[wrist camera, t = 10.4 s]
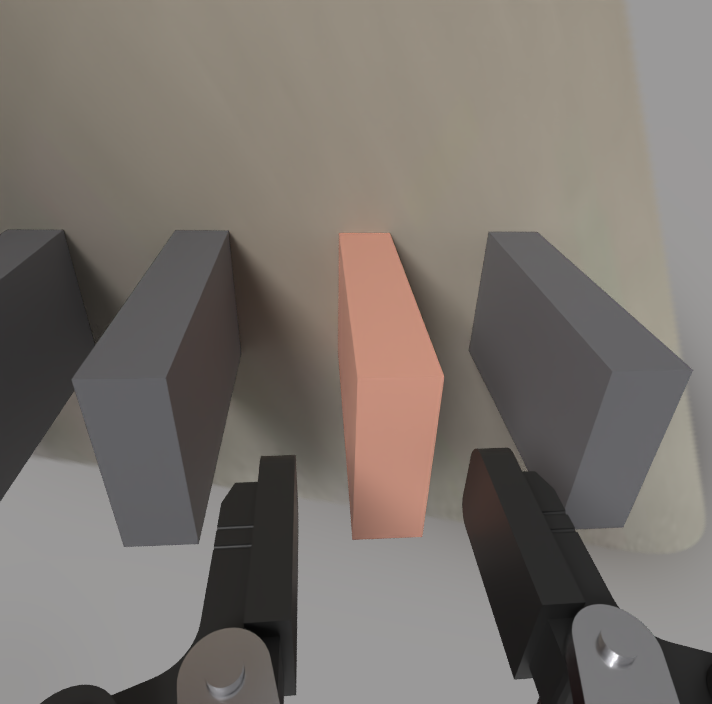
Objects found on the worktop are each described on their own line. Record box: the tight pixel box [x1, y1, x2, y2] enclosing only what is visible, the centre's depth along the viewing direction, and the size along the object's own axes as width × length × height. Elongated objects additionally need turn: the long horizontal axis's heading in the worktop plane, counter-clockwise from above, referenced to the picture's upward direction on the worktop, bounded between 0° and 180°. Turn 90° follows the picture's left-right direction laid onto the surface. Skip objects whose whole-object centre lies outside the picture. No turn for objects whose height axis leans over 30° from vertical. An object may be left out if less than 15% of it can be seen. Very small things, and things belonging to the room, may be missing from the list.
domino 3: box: [338, 233, 444, 540], centre depth 16 cm, size 2×5×9 cm, turn 178°
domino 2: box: [71, 230, 241, 547], centre depth 15 cm, size 2×5×9 cm, turn 179°
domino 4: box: [469, 232, 693, 529], centre depth 16 cm, size 2×5×9 cm, turn 179°
